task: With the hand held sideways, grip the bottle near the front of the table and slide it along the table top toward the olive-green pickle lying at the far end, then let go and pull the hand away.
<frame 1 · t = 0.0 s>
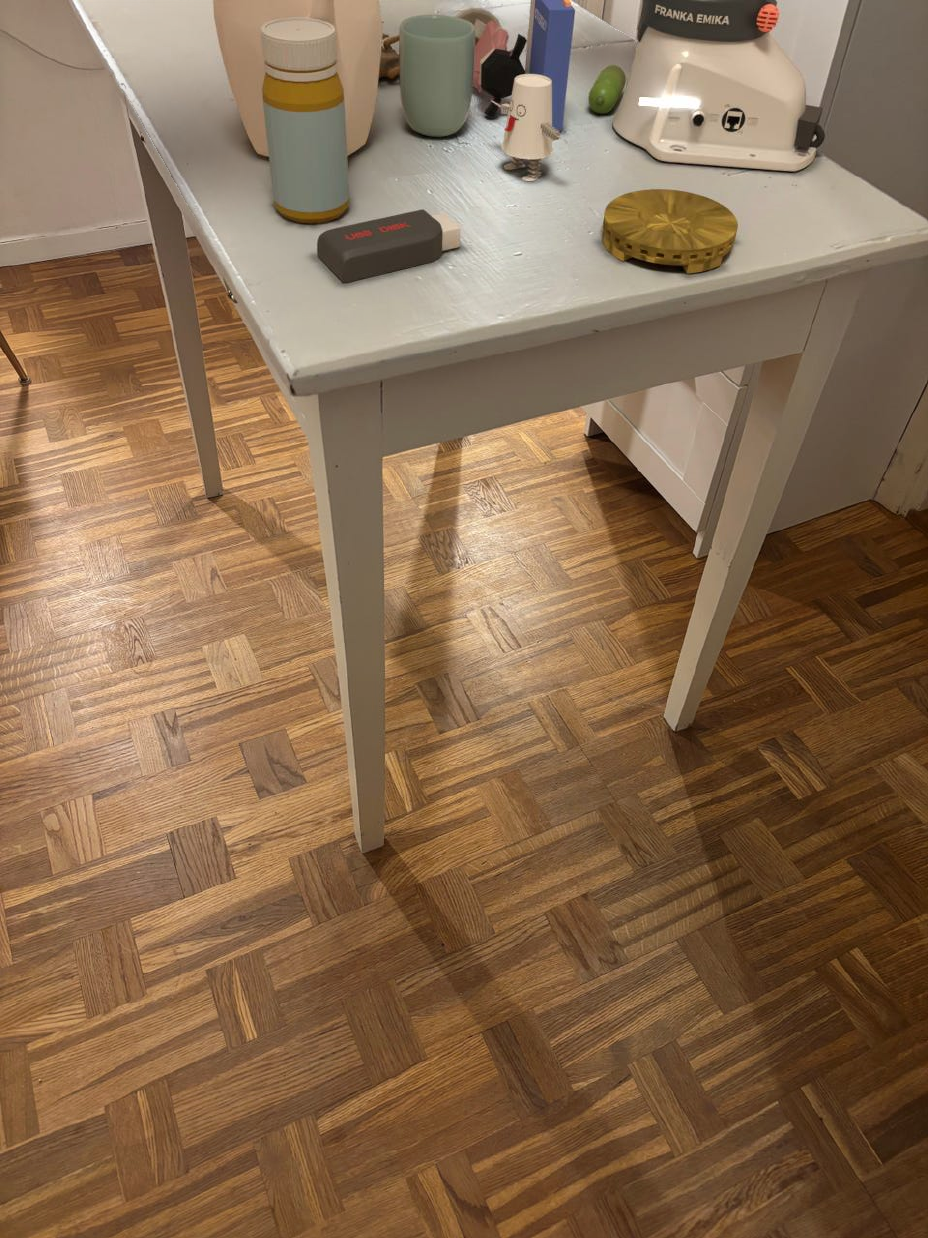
walkman: (541, 119, 107), on the table
pickle: (605, 103, 111), on the table
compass: (666, 243, 88), on the table
watering can: (310, 152, 98), on the table
toy: (474, 39, 113), point 4 cm above the table
toy figure: (523, 173, 97), on the table
cup: (435, 131, 103), on the table
bottle: (312, 210, 89), on the table
dinosaur figurine: (354, 54, 105), point 5 cm above the table
usb drive: (392, 257, 84), on the table
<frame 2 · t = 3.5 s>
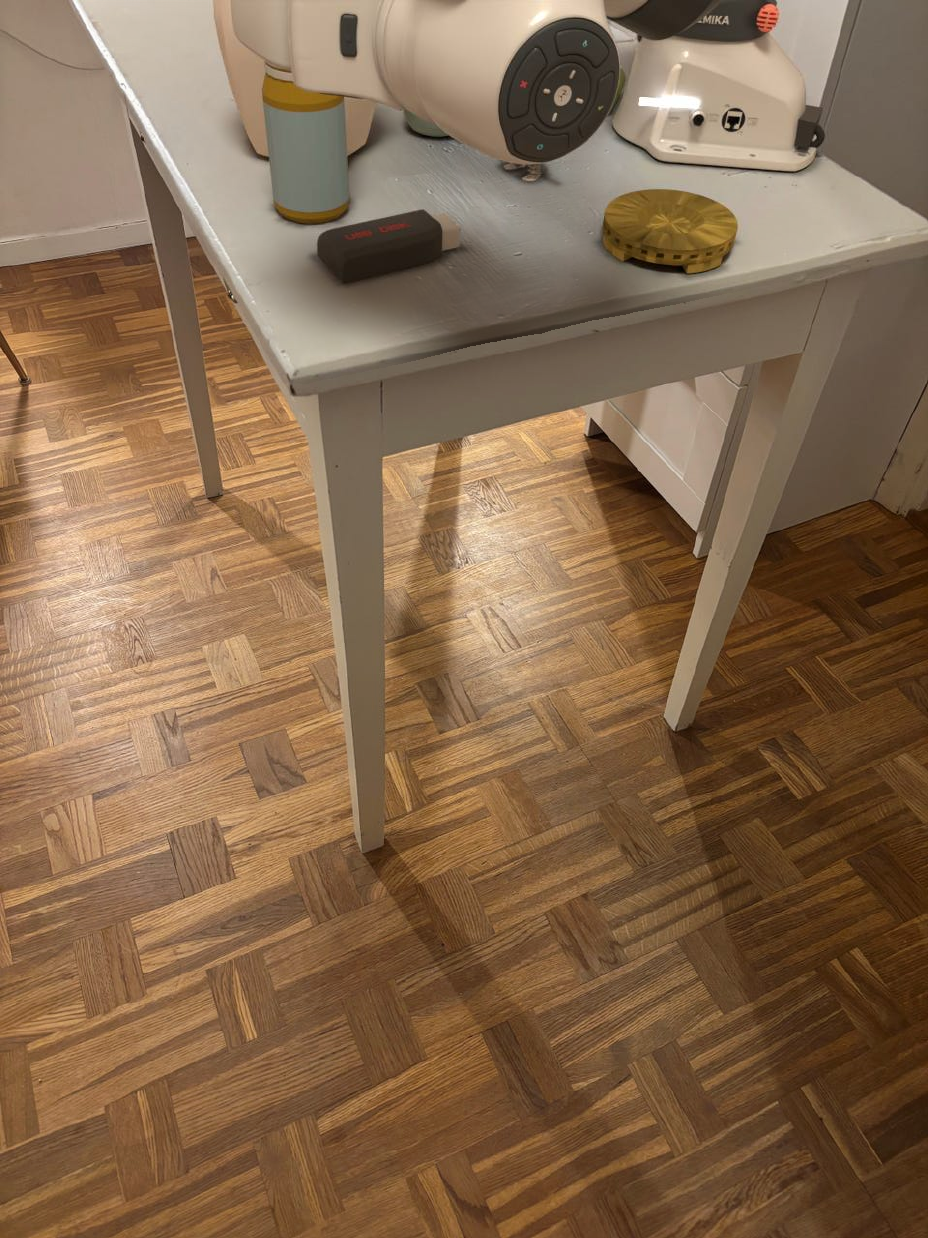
nothing on the table moved.
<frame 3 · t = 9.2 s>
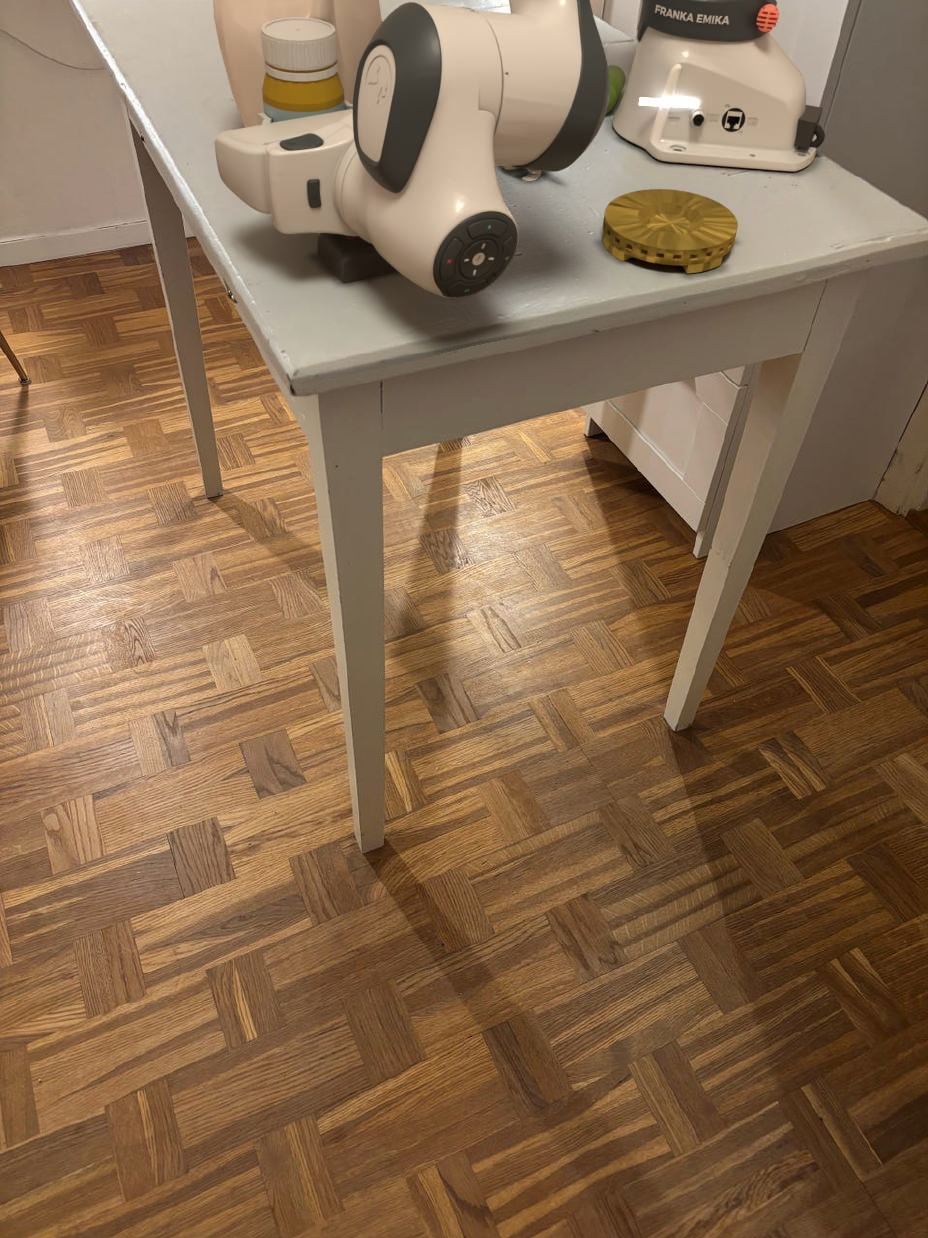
hand: (300, 115, 84), 8 cm above the table, tool horizontal, fingers closed on bottle, 5 cm apart
bottle: (312, 210, 89), on the table, touching gripper
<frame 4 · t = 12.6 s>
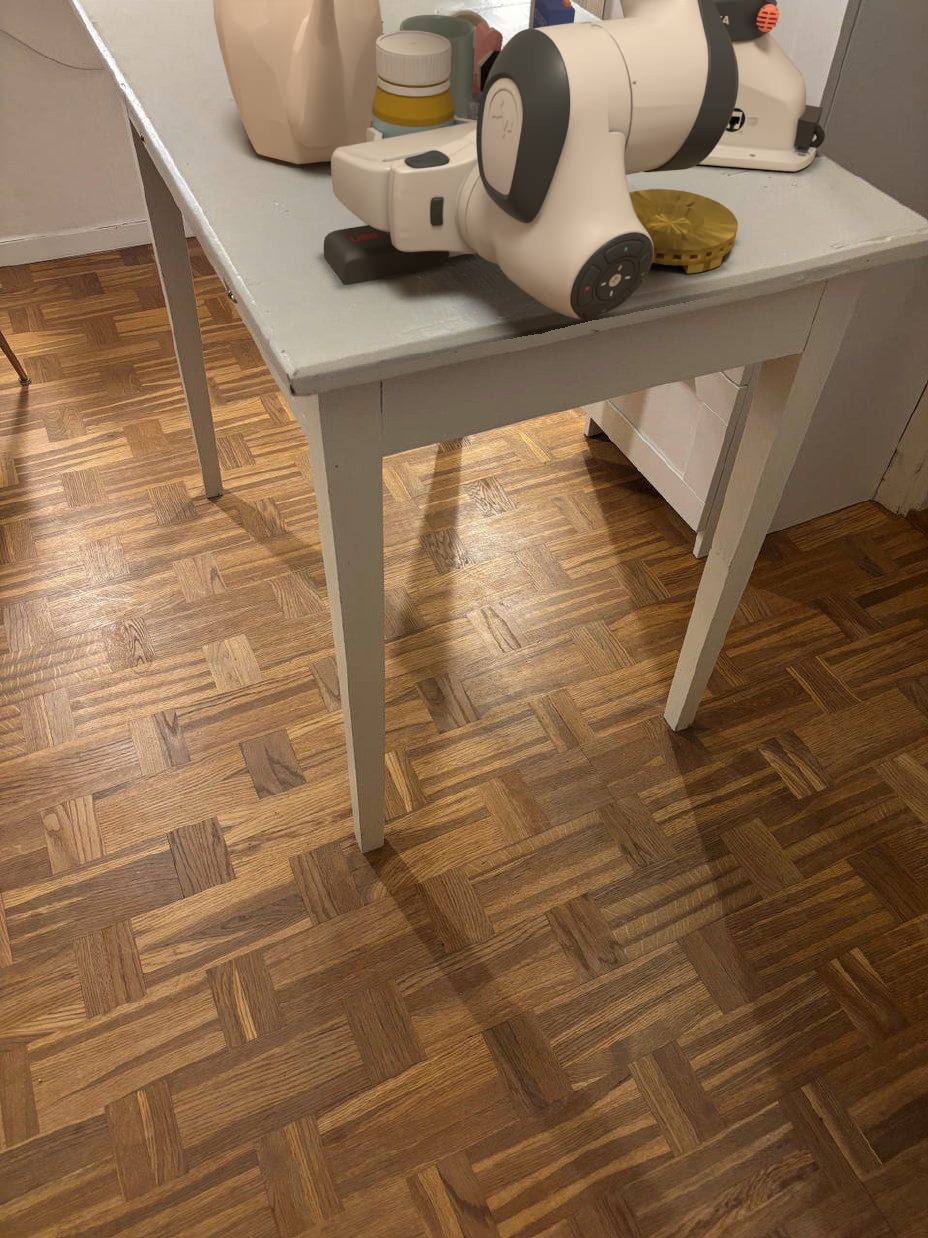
hand: (407, 129, 83), 8 cm above the table, tool horizontal, fingers closed on bottle, 5 cm apart
bottle: (412, 225, 88), on the table, touching gripper, usb drive
usb drive: (398, 261, 83), on the table, touching bottle
when the fingers open (8 cm above the table, at t = 13.3 s): bottle stays where it is, on the table.
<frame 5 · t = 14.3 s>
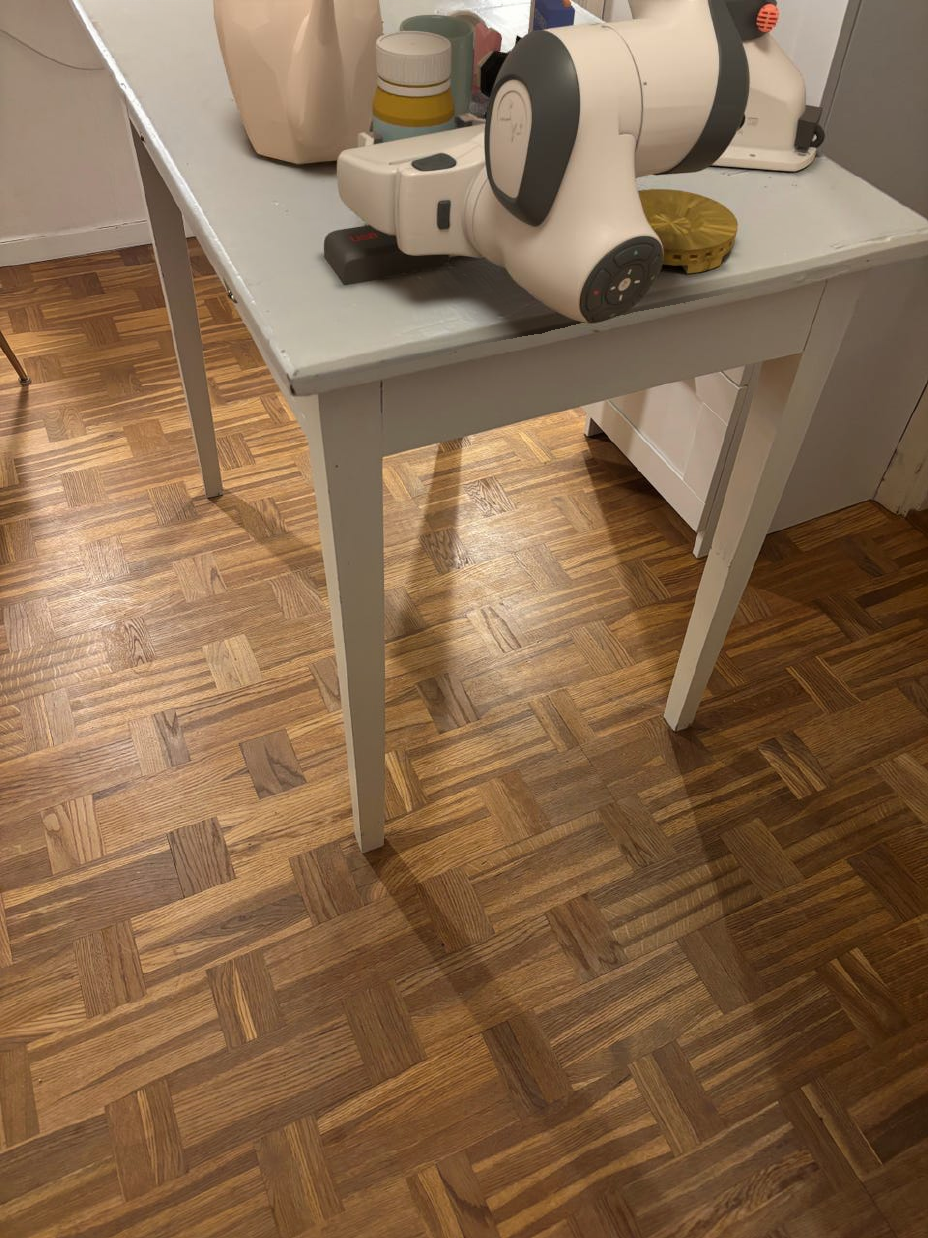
hand: (413, 131, 82), 8 cm above the table, tool horizontal, fingers open, 8 cm apart
bottle: (413, 225, 88), on the table
usb drive: (398, 261, 83), on the table
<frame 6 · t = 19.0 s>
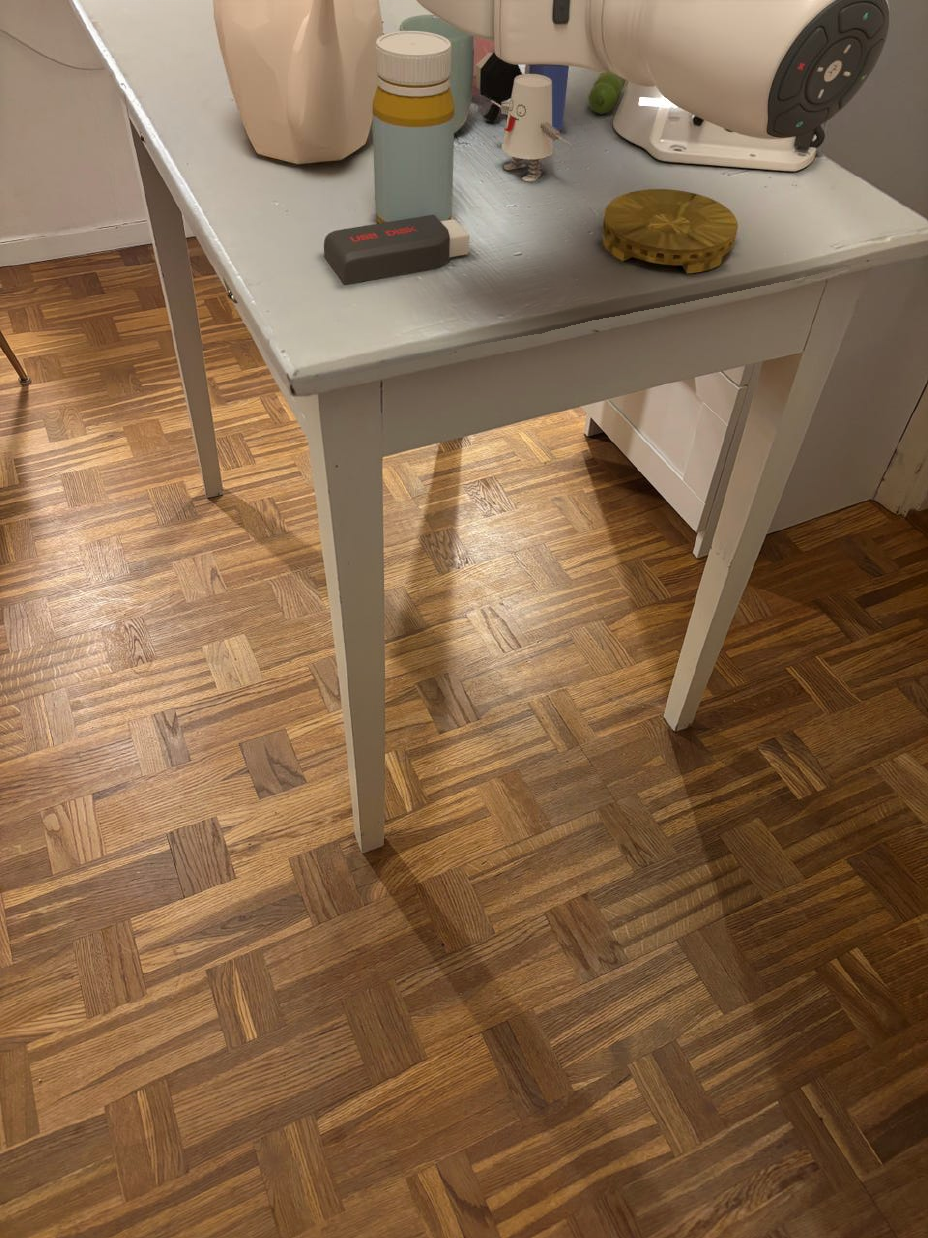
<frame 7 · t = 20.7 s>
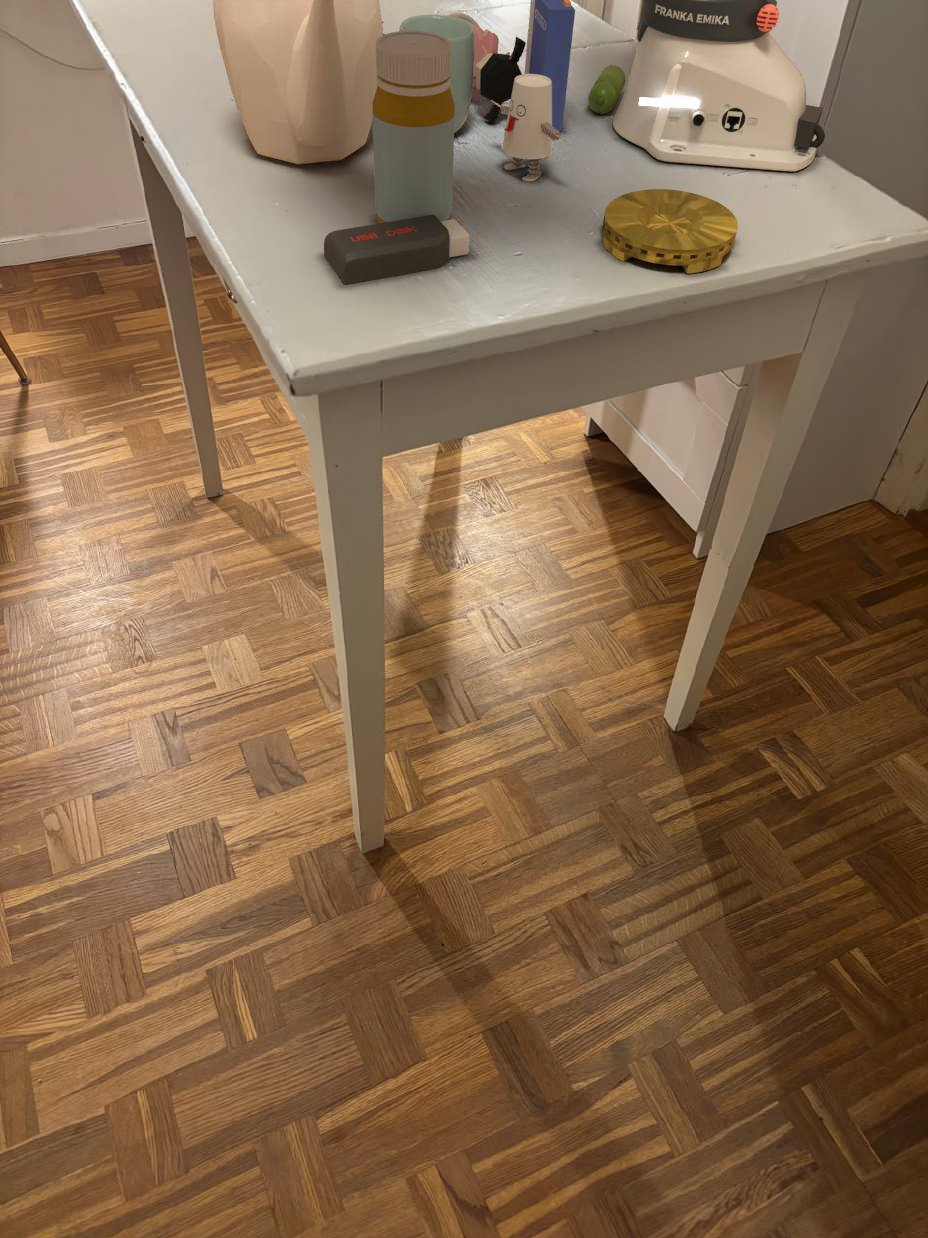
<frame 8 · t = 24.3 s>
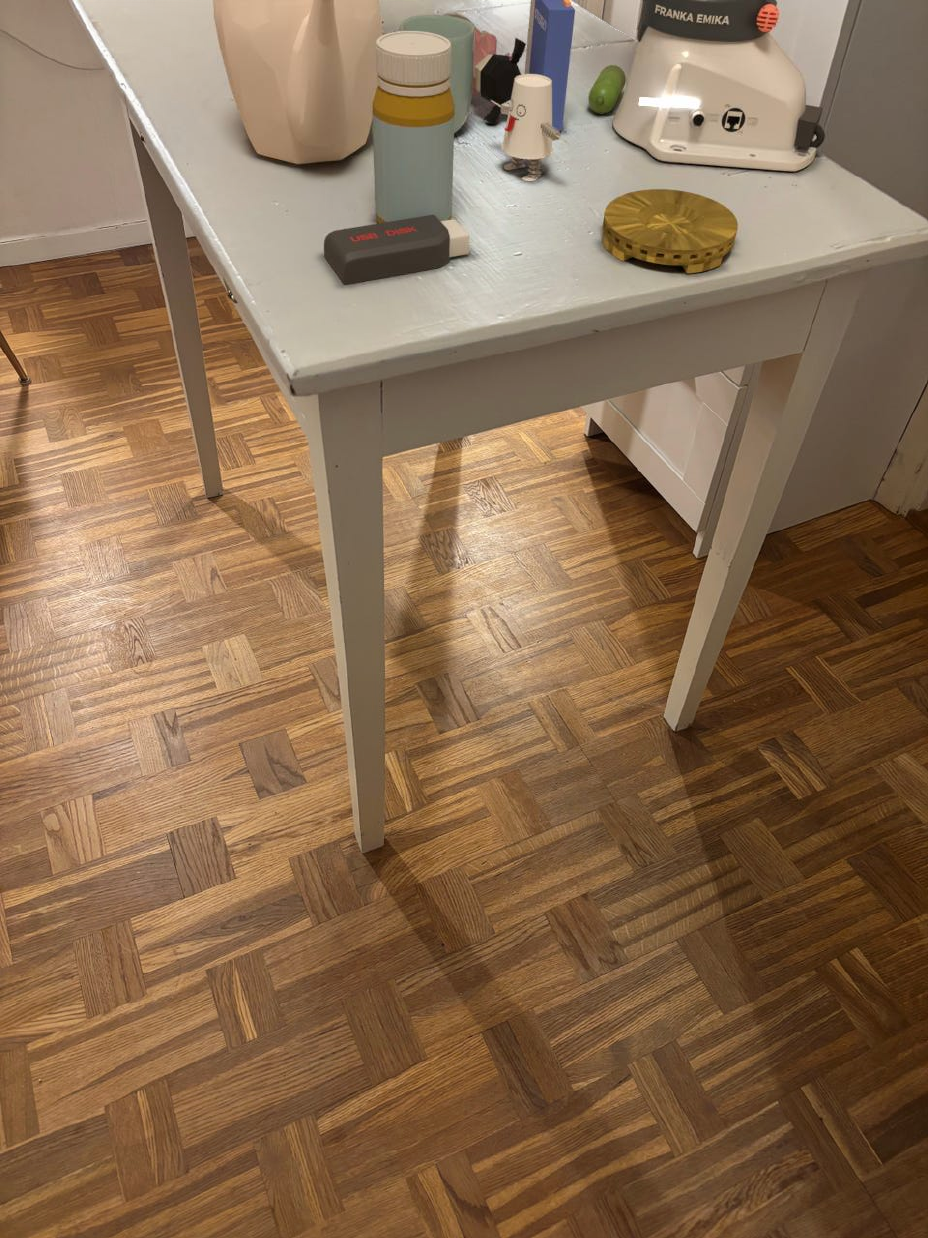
toy: (450, 45, 111), point 4 cm above the table, touching dinosaur figurine
dinosaur figurine: (355, 53, 105), point 5 cm above the table, touching toy
everything else where it was.
at the end: bottle 39.0 cm from the pickle (horizontally); bottle tilted 0°; the gripper is holding nothing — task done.
